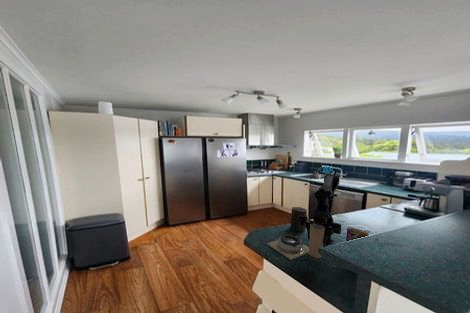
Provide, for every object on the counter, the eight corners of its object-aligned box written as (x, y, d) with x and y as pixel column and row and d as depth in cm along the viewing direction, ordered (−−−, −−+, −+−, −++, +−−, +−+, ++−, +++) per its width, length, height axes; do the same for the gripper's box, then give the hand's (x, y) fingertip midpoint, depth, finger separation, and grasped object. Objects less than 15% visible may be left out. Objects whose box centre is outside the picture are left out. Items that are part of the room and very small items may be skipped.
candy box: (366, 261, 102) (369, 231, 101) (364, 265, 99) (367, 234, 98) (346, 254, 109) (349, 226, 107) (344, 257, 105) (346, 228, 104)
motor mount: (288, 238, 125) (289, 229, 124) (313, 251, 110) (313, 242, 110) (267, 244, 115) (267, 235, 115) (290, 260, 101) (291, 250, 101)
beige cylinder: (314, 249, 100) (316, 221, 99) (325, 255, 95) (327, 226, 94) (305, 252, 97) (307, 223, 95) (316, 259, 92) (319, 228, 90)
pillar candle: (292, 231, 134) (294, 209, 132) (288, 225, 143) (290, 204, 142) (307, 232, 134) (309, 210, 132) (302, 226, 143) (304, 205, 142)
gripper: (300, 199, 102) (292, 228, 93) (342, 206, 92) (338, 240, 84) (303, 210, 109) (296, 238, 101) (342, 218, 100) (338, 250, 91)
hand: (315, 241), depth 94 cm, fingers closed on beige cylinder, 6 cm apart
